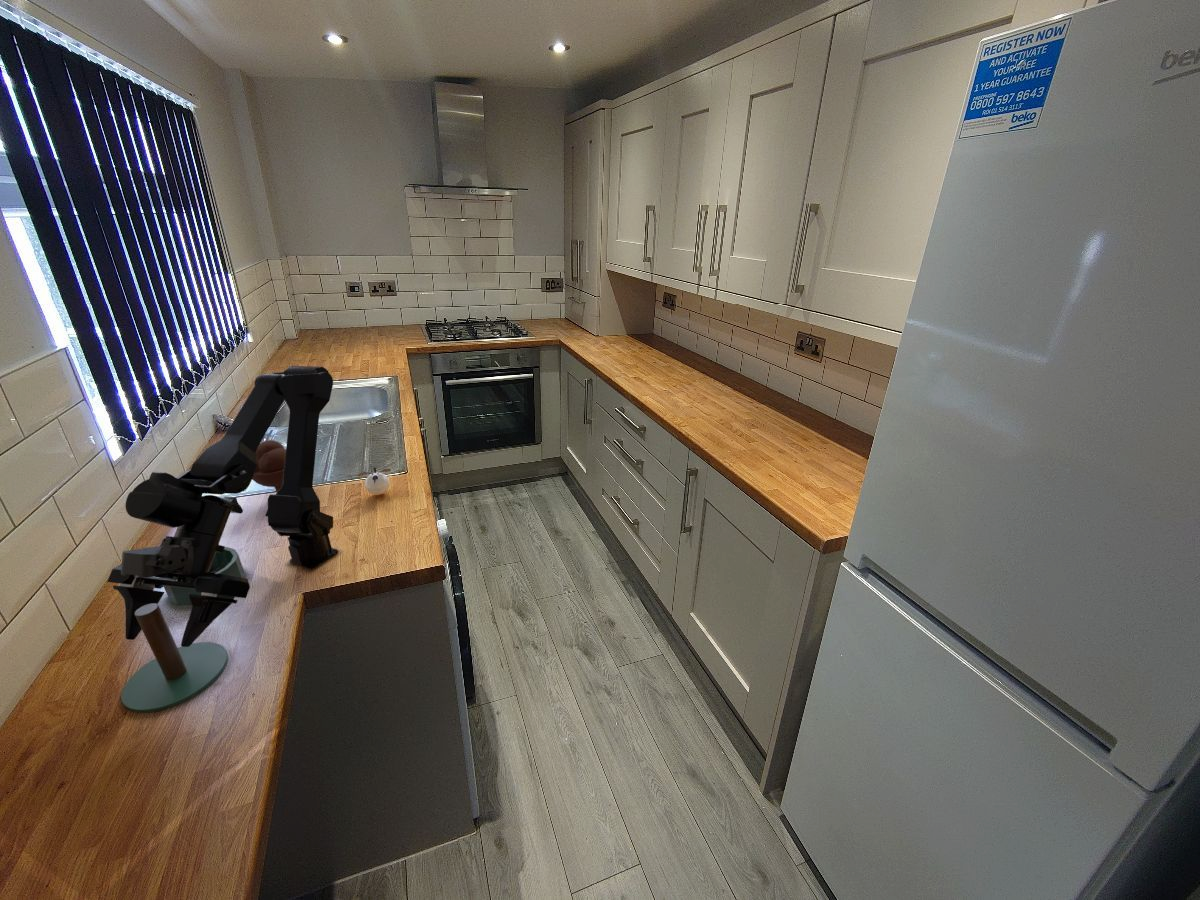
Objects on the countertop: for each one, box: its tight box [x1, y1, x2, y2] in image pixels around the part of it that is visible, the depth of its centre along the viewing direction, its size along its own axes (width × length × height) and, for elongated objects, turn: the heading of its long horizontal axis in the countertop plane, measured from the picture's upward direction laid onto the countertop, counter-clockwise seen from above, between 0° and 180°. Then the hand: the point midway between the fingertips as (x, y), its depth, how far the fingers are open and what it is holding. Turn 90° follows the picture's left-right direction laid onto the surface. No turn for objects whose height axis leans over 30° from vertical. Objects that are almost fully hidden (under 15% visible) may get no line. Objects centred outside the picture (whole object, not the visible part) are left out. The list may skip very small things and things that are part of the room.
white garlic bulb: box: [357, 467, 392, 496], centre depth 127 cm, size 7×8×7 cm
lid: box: [120, 603, 229, 714], centre depth 75 cm, size 13×13×13 cm
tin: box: [163, 546, 246, 606], centre depth 97 cm, size 12×12×5 cm
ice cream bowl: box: [251, 439, 286, 493], centre depth 125 cm, size 11×11×15 cm
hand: (157, 643), depth 74 cm, fingers open, 9 cm apart
